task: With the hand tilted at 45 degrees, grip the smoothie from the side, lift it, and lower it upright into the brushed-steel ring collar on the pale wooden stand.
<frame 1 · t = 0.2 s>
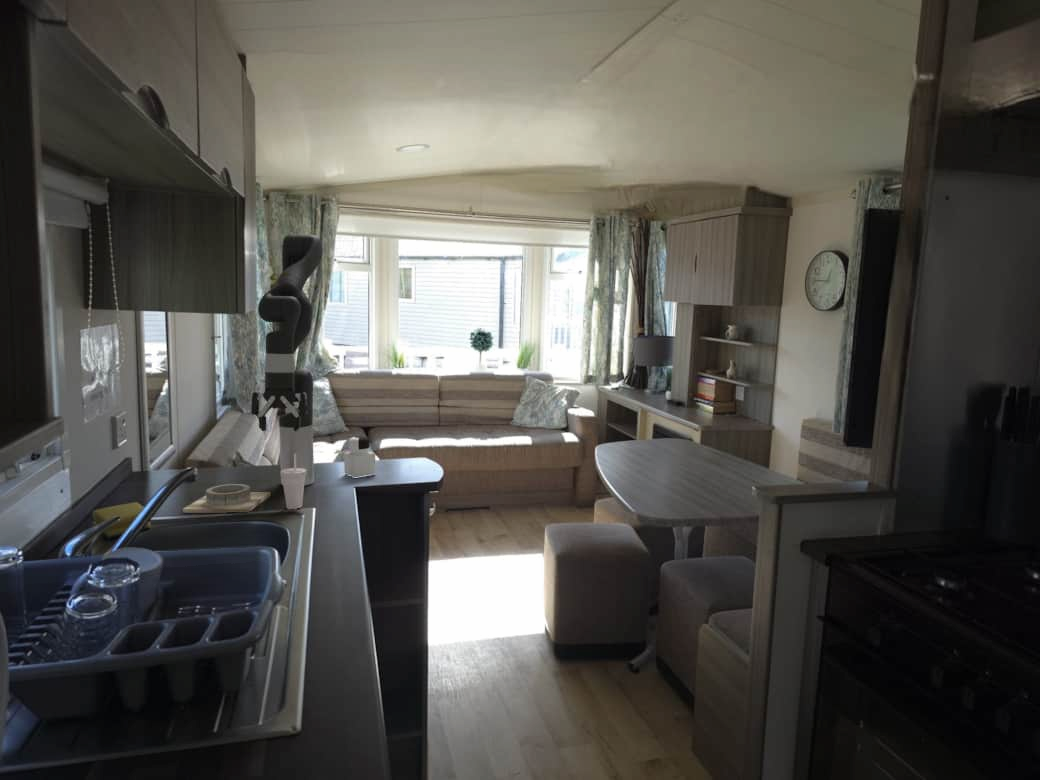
hand: (279, 430, 180), 18 cm above the worktop, tool pointing down, fingers open, 8 cm apart
smoothie: (294, 508, 172), on the worktop
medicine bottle: (360, 476, 207), on the worktop
collar stand: (228, 503, 174), on the worktop
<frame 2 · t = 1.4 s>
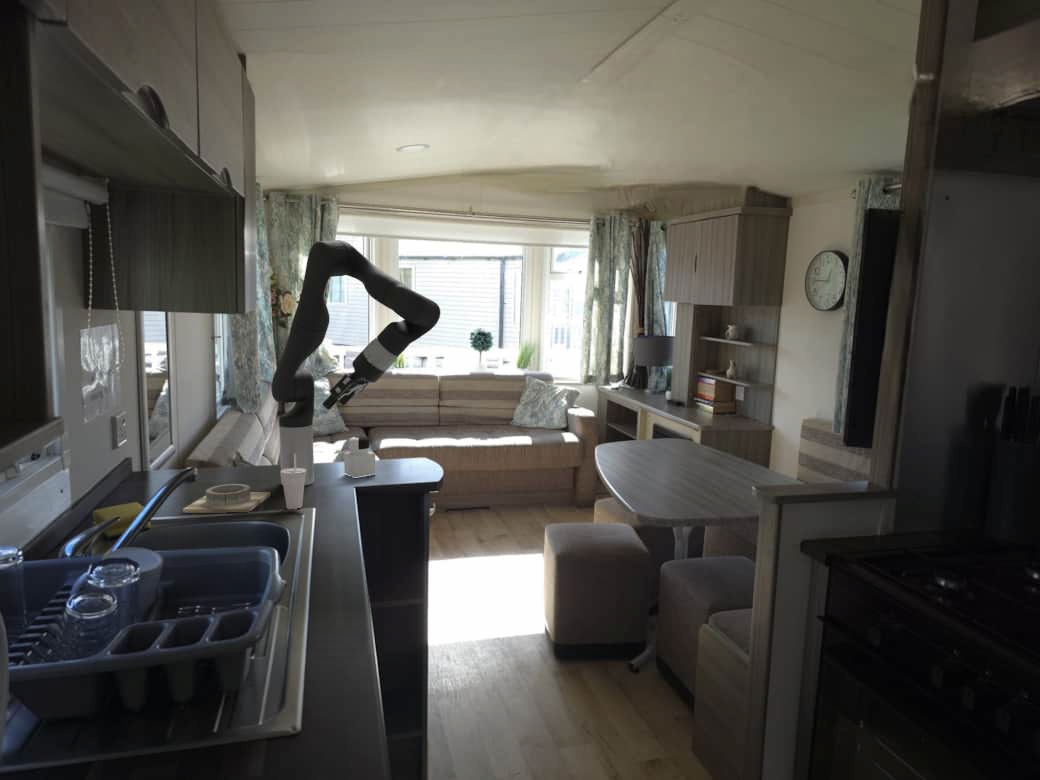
hand: (333, 404, 167), 27 cm above the worktop, tool tilted 45°, fingers open, 8 cm apart
nothing on the worktop moved.
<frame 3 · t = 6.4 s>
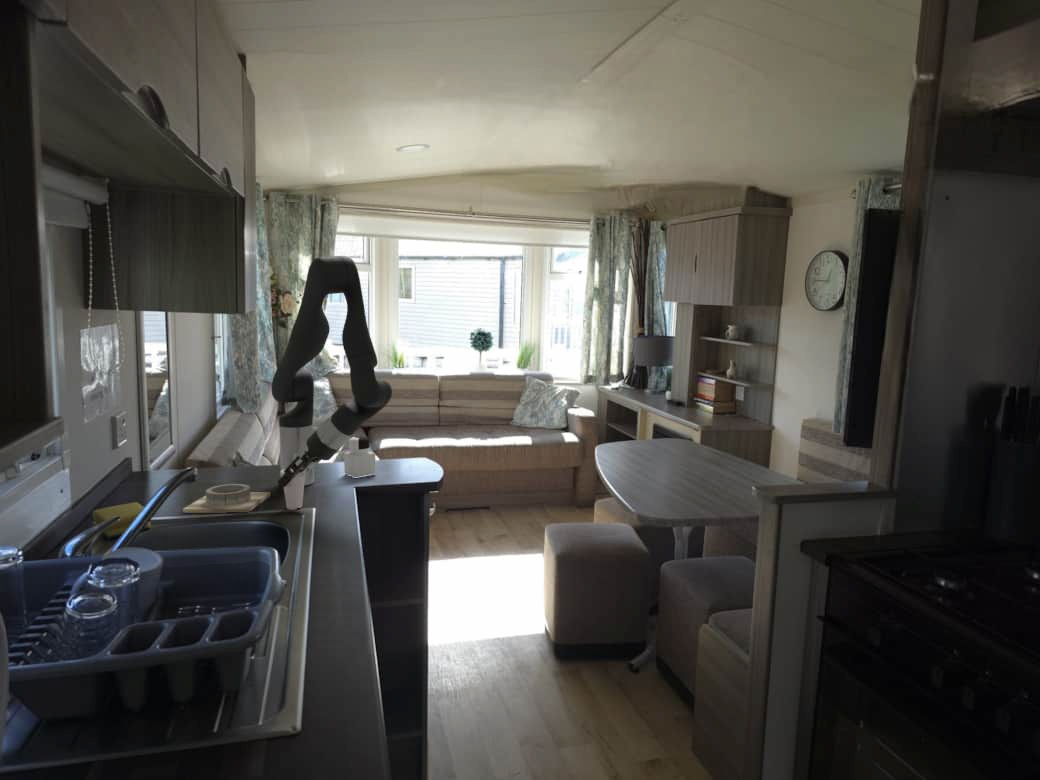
hand: (287, 481, 171), 7 cm above the worktop, tool tilted 45°, fingers closed on smoothie, 6 cm apart
smoothie: (294, 508, 172), on the worktop, touching gripper
everything else where it was.
when the fingers open (9 cm above the worktop, at t = 13.6 s): smoothie drops 1 cm, resting on collar stand.
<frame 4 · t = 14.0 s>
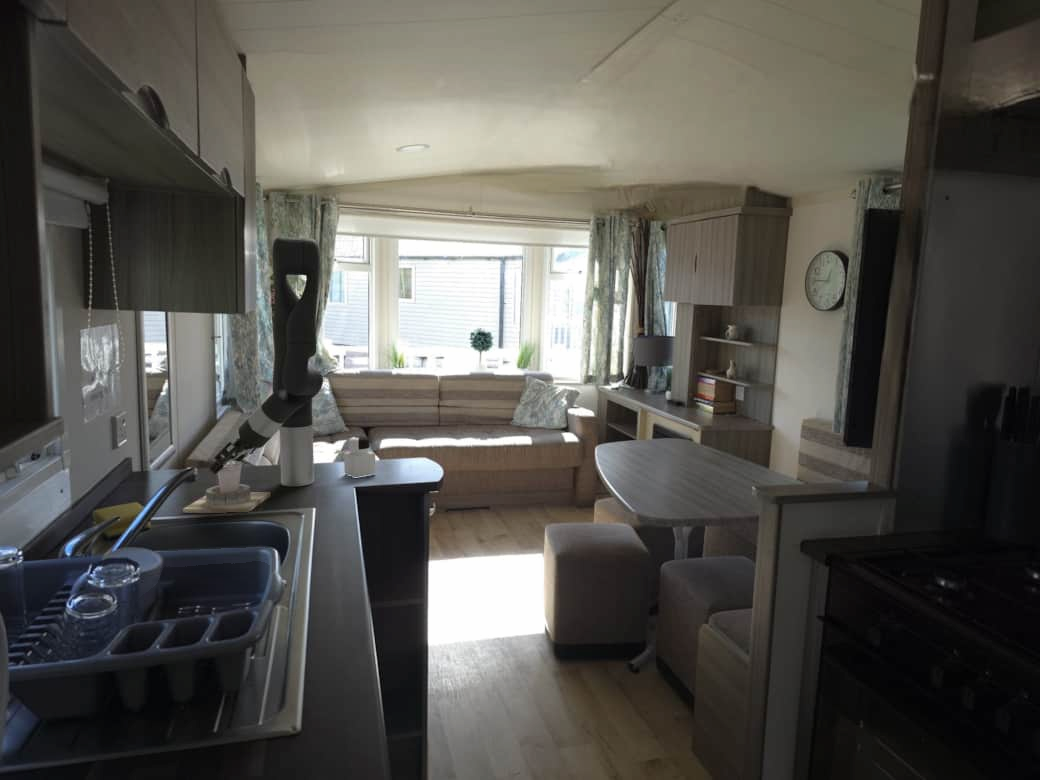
hand: (222, 467, 174), 10 cm above the worktop, tool tilted 45°, fingers open, 8 cm apart
smoothie: (229, 500, 174), point 1 cm above the worktop, touching collar stand
everything else where it was.
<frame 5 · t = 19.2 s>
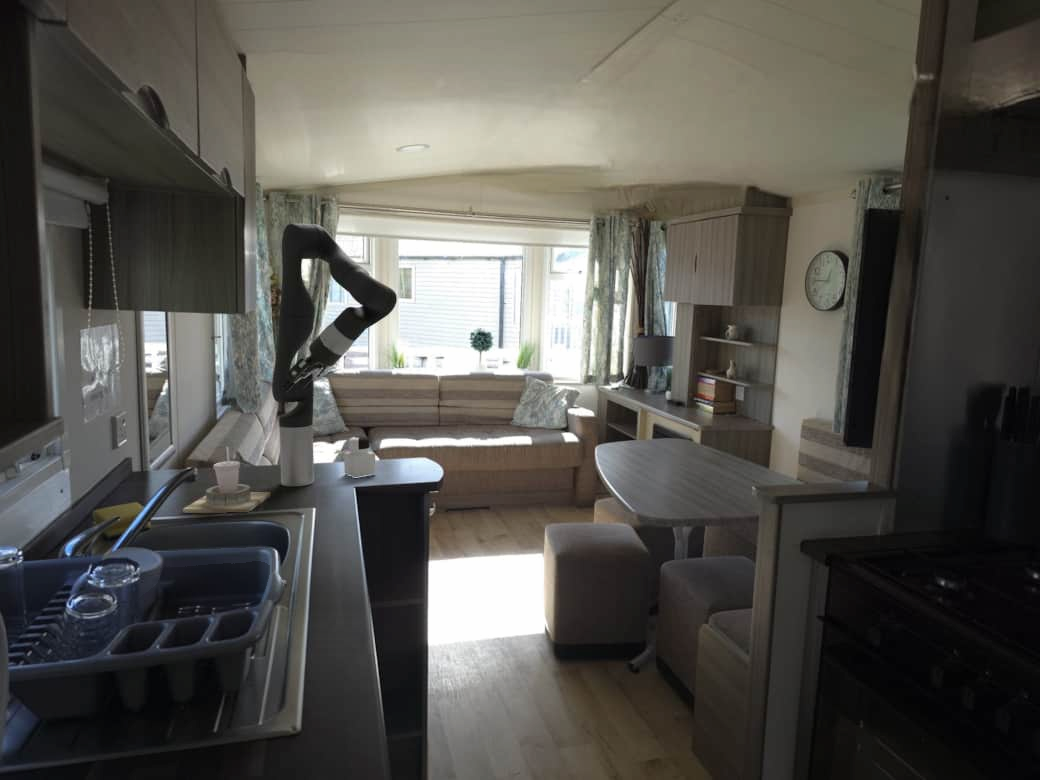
hand: (291, 388, 170), 31 cm above the worktop, tool tilted 45°, fingers open, 8 cm apart
at the end: smoothie 0.2 cm off-centre on the collar stand, point 0.9 cm above the collar stand's base; smoothie tilted 2°; the gripper is holding nothing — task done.
